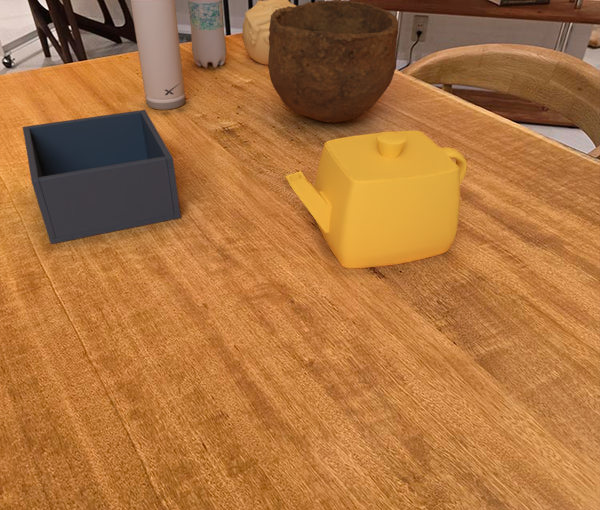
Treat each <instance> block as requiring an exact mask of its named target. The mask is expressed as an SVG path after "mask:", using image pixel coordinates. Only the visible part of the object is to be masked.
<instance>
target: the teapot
mask: <svg viewBox="0 0 600 510" xmlns="http://www.w3.org/2000/svg"><path fill="white" fill-rule="evenodd" d="M454 160H455V161H454ZM467 171H468V161H467V159H466V157H465V156H464V155H463V153H462V152H460V151H459V150H457V149H455V148H454V147H449V146H446V147H445V146H444V147H441V146H439V145H438V144H437V143H436V142H434V140H432V139H431V138H430V137H429V136H428V135H426V134H425V133H424V132H423V131H421V130H398V131H394V130H385V131H381V132H374V133H373V132H372V133H365V134H359V135H352V136H345V137H339V138H333V139H330V140H327V141H325V142H324V144H323V147H322V150H321V154H320V158H319V162H318V166H317V170H316V175H315V180H314V185H313V183H311V181H310V180H308V179H307V177H306V176H305V174H304V173H303V172H302V171H301V170H300V171H296V172H294V173H290V174H287V175H284V178H285V180H286V181H287V183H288V185H289V186H290V188H292V190H293V191H294V193H295V194H296V196H297V197H298V198H299V199H300V201H301V203H302V204H303V205H304V206H305V208H306V209H307V211H309V213H310V214H311V215H312V217H313V218H314V220H315V222H316V225H317V227H318V229H319V232H320V233H321V235H322V237H323V239H324V241H325V243H326V245H327V246H328V248H329V249H330V251H331V252H332V254H333V256H334V257H335V259H336V260H337V261H338V263H339V264H340V266H342V267H343V268H345V269H369V268H377V267H387V266H395V265H400V264H407V263H411V262H417V261H420V260H424V259H428V258H429V259H430V258H433V257H438V256H440V255H443V254H445V253H447V252H448V251H449V250H450V248H451V247H452V245H453V243H454V241H455V239H456V237H457V233H458V232H457V231H458V226H459V219H460V211H461V210H460V208H461V184H462V182H463V180H464V178H465V177H466V174H467Z"/></svg>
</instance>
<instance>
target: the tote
mask: <svg viewBox="0 0 600 510" xmlns="http://www.w3.org/2000/svg"><path fill="white" fill-rule="evenodd" d="M22 131H23V138H24V145H25V151H26V156H27V163H28V169H29V174H30V181H31V184H32V188H33V190H34V194H35V197H36V200H37V203H38V207H39V211H40V215H41V216H42V220H43V223H44V226H45V230H46V233H47V236H48V240H49V243H50V245H53V244H58V243H64V242H69V241H73V240H78V239H83V238H87V237H88V238H89V237H92V236H93V237H94V236H99V235H103V234H108V233H113V232H117V231H123V230H128V229H133V228H138V227H142V226H143V227H144V226H147V225H152V224H157V223H162V222H168V221H173V220H177V219H182V215H181V208H180V201H179V194H178V192H179V191H178V185H177V178H176V171H175V170H176V169H175V163H174V157H173V155H172V154H171V152H170V151H169V148H168V147H167V145H166V144H165V142H164V140H163V138H162V137H161V135H160V133H159V131H158V129H157V128H156V126H155V124H154V123H153V121H152V119H151V118H150V116H149V114H148V112H147V111H146V109H140V110H132V111H126V112H118V113H111V114H105V115H104V114H103V115H96V116H89V117H83V118H82V117H81V118H75V119H67V120H62V121H53V122H47V123H38V124H32V125H26V126H22Z"/></svg>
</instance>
